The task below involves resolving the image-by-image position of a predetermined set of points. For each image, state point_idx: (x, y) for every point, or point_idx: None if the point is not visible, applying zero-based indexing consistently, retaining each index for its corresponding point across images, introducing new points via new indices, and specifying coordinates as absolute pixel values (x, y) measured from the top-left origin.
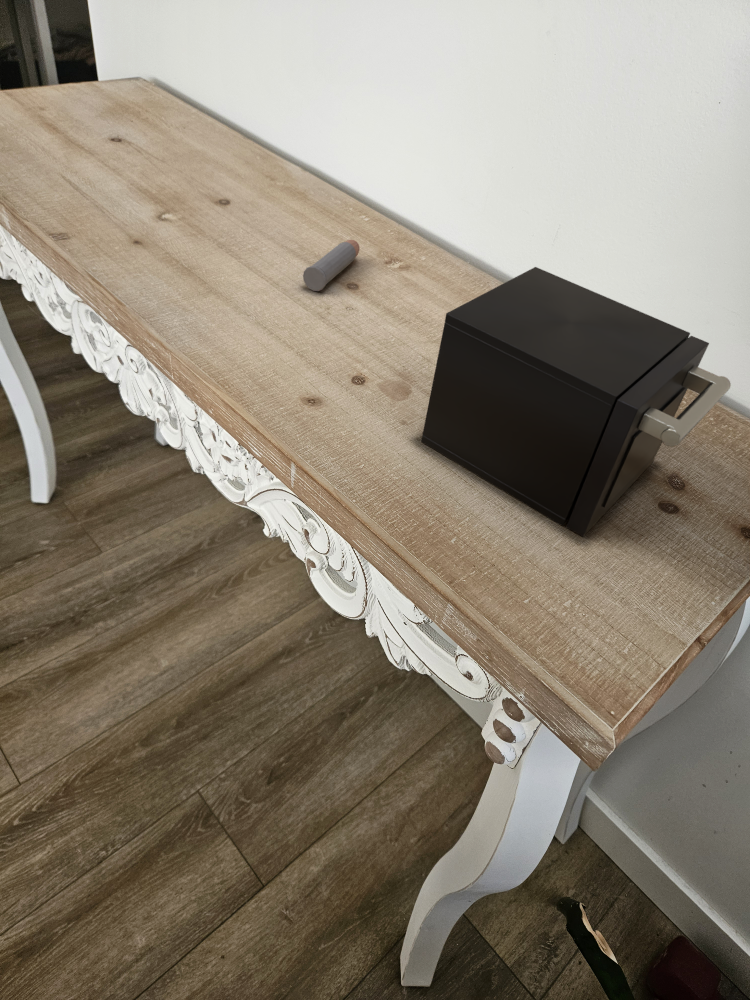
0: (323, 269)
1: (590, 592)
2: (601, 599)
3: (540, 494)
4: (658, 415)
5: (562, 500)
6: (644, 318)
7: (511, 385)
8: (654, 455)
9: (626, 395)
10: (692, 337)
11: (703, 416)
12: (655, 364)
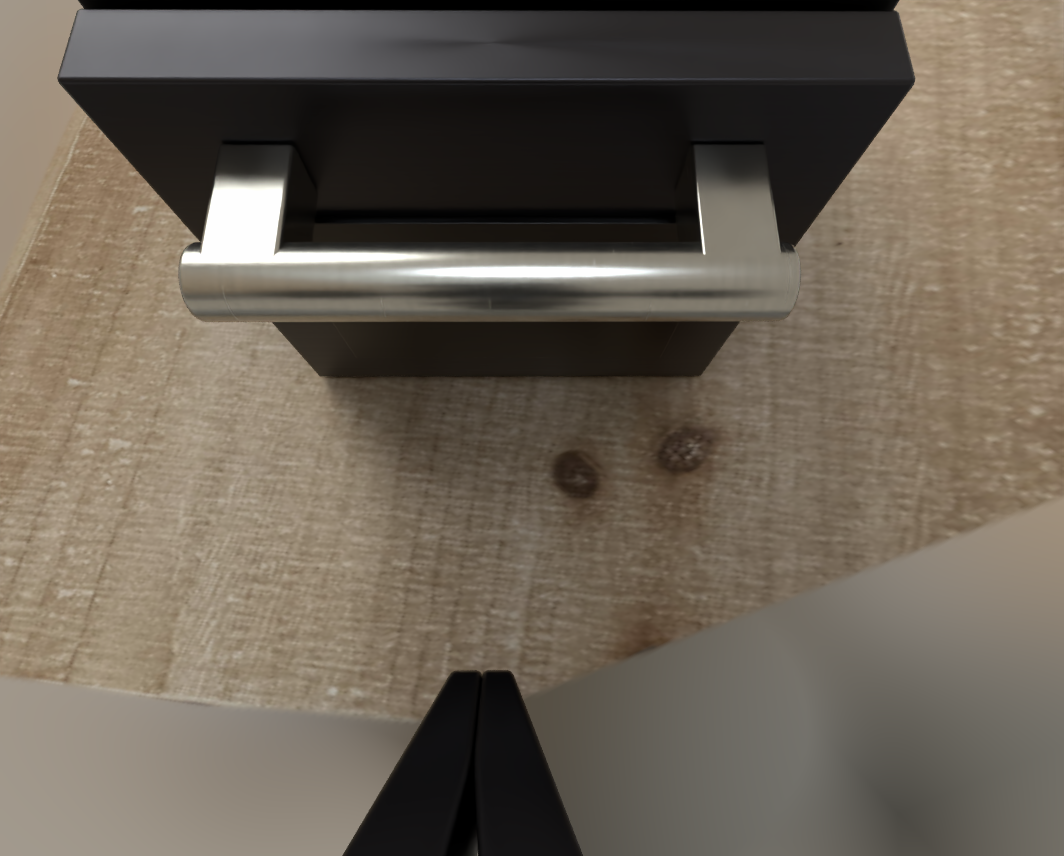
0: None
1: (178, 464)
2: (174, 490)
3: None
4: (248, 183)
5: None
6: None
7: None
8: (690, 362)
9: (134, 18)
10: (885, 19)
11: (456, 315)
12: (484, 2)
